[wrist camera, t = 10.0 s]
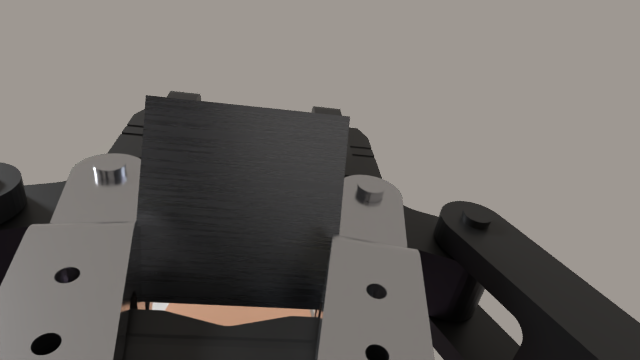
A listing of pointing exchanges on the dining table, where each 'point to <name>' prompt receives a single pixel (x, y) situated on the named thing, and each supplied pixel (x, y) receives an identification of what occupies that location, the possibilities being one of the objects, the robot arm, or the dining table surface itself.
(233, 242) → the grey rectangular bar
